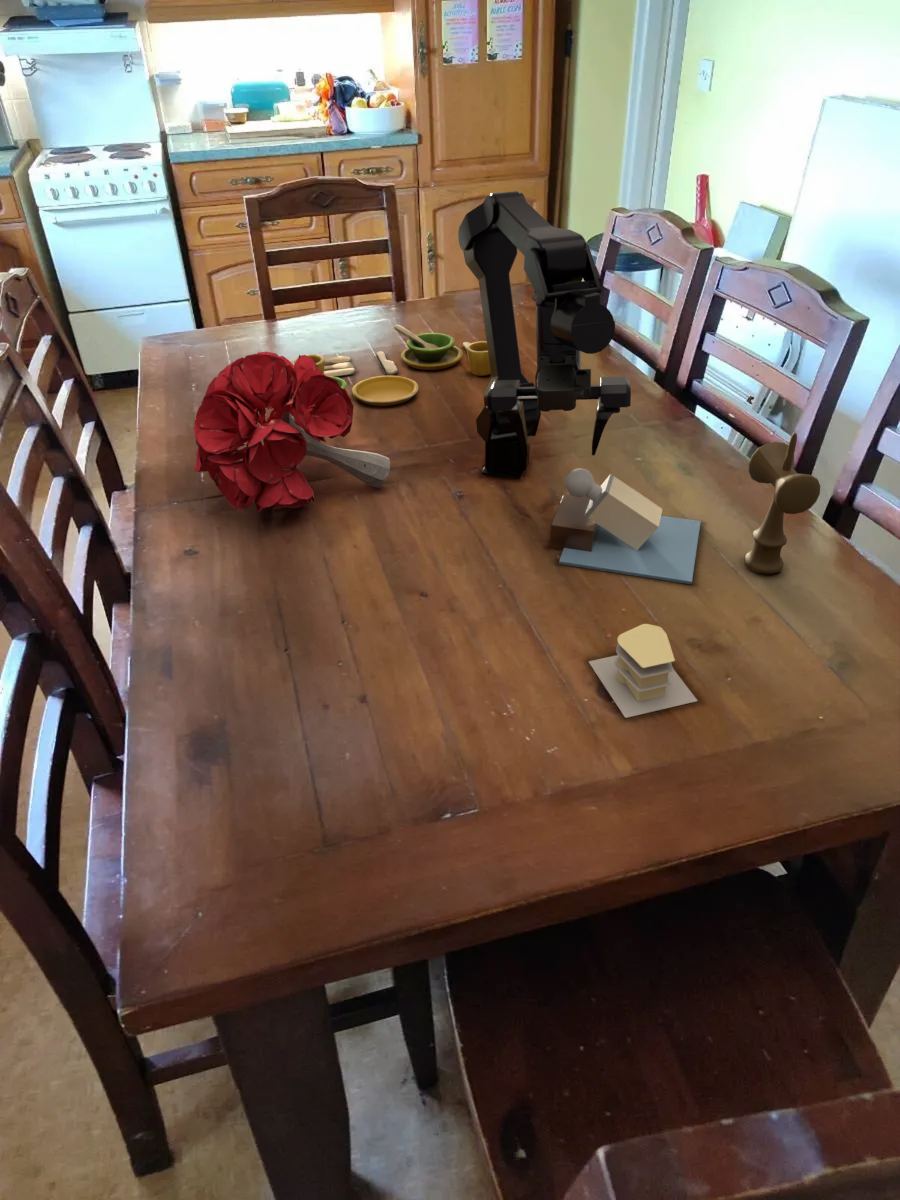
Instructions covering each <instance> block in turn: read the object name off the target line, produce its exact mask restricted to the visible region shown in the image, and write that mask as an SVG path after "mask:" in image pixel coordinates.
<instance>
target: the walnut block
mask: <svg viewBox="0 0 900 1200" xmlns="http://www.w3.org/2000/svg"><path fill="white" fill-rule="evenodd" d="M589 501H590V499H589V498H588V497H586V496H584V497H575V496H573V495H571V494H567V493H563V495H562V496H561V499H560V501H559V504H558V507H557V509H556V511H555V514H554V517H553V519H552V521H551V524H550V533H549V534H550V535H549V549H550V550H551V549H552V550H557V551H563V549H564V548H569V549H576V550H582V551H589V552H592V549H593V546H594V543H595V540H596V537H597V534H598V530H599V527H600V525H598V524H597V523H595V522H594V521H592V520H591V519H589V518H588V517H586V516H585V513H586V510H587V507H588V504H589Z"/></svg>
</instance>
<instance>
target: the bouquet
mask: <svg viewBox="0 0 900 1200" xmlns="http://www.w3.org/2000/svg"><path fill="white" fill-rule="evenodd" d="M306 355H307V354H302V355H301V354H299V355H298V356H297V357H296V358H297V360H296V362H295V363H294V362H293V363H292V362H291V361H290V360H289V358H286V357H285V356H284V355H279V354H278V353H276V352H271V351H260V352H257V353H252V354H248V355H245V357H239V358H236V360H234V361H232V362H230V363H229V364H228V365H226V366H225V367H224V368H223V369H222V370H220V371H219V373H218V374H217V376H215V377H214V378H213V379H212V380H211V382H210V383H209V384H208V386H207V389H206V391H205V395H204V396H203V399H202V400H201V402H200V403H201V404H200V405H199V406H198V409H197V411H196V414H195V420H194V425H193V433H194V437H195V444H196V446H197V450H196V453H195V459H196V460H195V464H194V469H195V470H194V473H206V472H208V476H209V478H210V479H211V480H212V481H213V482H214V483H215V486H216V487H217V489H218V491H219V492H220V493H221V494H222V496H223V497H224V498H225V500H226V501H227V503H228V505H229V506H231V507H232V508H234V509H235V510H239V511H241V510H242V509H244V511H246V510H247V509H248V508H249V507H250V506H252V504H254V506H255V511H256V513H258V512H261V511H262V510H264V509H265V510H266V509H267V508H269V509H283V508H290V509H299V508H302V507H304V506H309V505H310V504H311V502H313V503H315V496H314V490H313V489H312V487H311V486H310V483H309V481H308V479H307V477H306V476H305V474H303V473H302V472H301V471H300V470H299V469H298V468H297V467H299V466H300V464H301V463H302V461H303V460H304V458H305V457H313V458H318V459H321V460H323V461H324V460H325V461H326V462H329V463H331V464H333V465H335V466H337V467H338V468H340V469H342V470H343V471H345V472H346V473H348V474H350V475H352V476H353V477H354V478H356V479H357V480H359V481H361V482H362V483H364V484H365V485H368V486H371V487H374V488H378V489H379V488H382V487H383V485H384V484H385V482H386V481H387V478H388V476H389V473H390V469H391V460H390V458H389V457H387V456H385V455H383V454H380V453H377V452H371V451H365V450H358V449H348V448H339V447H335V446H332V445H328V444H325V443H327V441H326V439H325V437H326V438H329V439H334V438H336V437H338V436H340V437H342V438H345V437H346V436H347V435H348V434H350V433H351V429H352V426H353V418H354V408H355V406H354V403H353V400H352V399H351V397H350V395H349V394H348V391H347V390H346V389H343V388H341V387H340V386H339V384H338V381H337V380H335V379H333V378H331V377H328V376H326V375H325V374H324V373H323V372H322V371H320V370H319V369H317V368H316V367H317V365H316V362H315V360H314V358H312V357H309V356H306ZM293 364H294V366H293ZM266 409H267V410H271V411H270V412H269V415H268V416H267V413H268V412H267V410H266ZM266 416H267V418H266ZM262 441H263V443H262ZM323 442H324V443H323Z"/></svg>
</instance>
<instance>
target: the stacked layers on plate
mask: <svg viewBox="0 0 900 1200" xmlns="http://www.w3.org/2000/svg"><path fill="white" fill-rule="evenodd" d="M615 652H616V655H611V656H607V657H603V658H598V659H594V660H593V659H592V660H588V663H589V665H590V666H591V668H592V669H593V671H594V672H595V674H596V675H597V677H598V679H599V680H600V682H601V684H602V685H603V687H604V688H605V690H606V691H607V693H608V694H609V696H610V697H611V698H612V700H613V701H614V703H615V704H616V706H617V707H618V709H619V711H620V712H621V714H622V715H623V717H624V718H625V719H627V718H631V717H636V716H640V715H644V714H649V713H653V712H657V711H662V710H665V709H670V708H674V707H679V706H682V705H686V704H690V703H691V704H692V703H696V702H699V701H698V699H697V698H696V696H695V695H694V694H693V693H692V691H691V690H690V689H689V687H688V686H687V685H686V683H685V682H684V681H683V680H682V678H681V677H680V676H679V675H678V672H677V671H676V670H675V669H674V667H673V663H672V662H675V661H676V659H675V656H674V653H673V650H672V647H671V643H670V640H669V636H668V634H667V632H666V631H665V630H664V629H663V628H662V626H659V625H654V624H650V623H642V624H640V625H638V626H635V627H633V628H631V629H628V630H626V631H624V632H622V633H621V634H619V635H618V636H617V645H616V648H615Z"/></svg>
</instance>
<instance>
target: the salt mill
mask: <svg viewBox="0 0 900 1200" xmlns="http://www.w3.org/2000/svg"><path fill="white" fill-rule="evenodd" d="M565 477H566V478H565V488H566V490H567V492H568V493H569V495H573V496H575V497H588V498H589V499H590V501H589V504H588V507H587V510H586V513H585V516H586V517H588V518H589V519H591V520H592V521H594V522H595V523H597V524H598V525H600V526H601V527H603V528H604V529H606V530H607V531H609V532H610V533H612V534H613V535H615V536H616V537H618V538H619V539H621V540H622V541H624V542H625V543H627V544H628V545H630V546H631V547H633V548H634V549H636V550H638V549H639V548H640V547H641V546H642V545H643V544H644V542H645V541H646V540H647V539H648V538H649V537H650V536H651V535H652V534H653V533H654V532H655V531H656V529H657V528H658V527H659V524H660V519H661V516H662V514H663V508H662V507H660V506H659V505H657V504H656V503H655V502H653V501H652V500H650V499H648V497H646V496H644V495H642V494H641V493H640V492H638V491H637V490H635V489H634V488H633V487H631V486H630V485H628V484H627V483H625V482H623V481H622V480H620V479H619V478H618V477H616V476H614V475H613V474H612V473H610V474H609V475H608V476H607V477H606V478H605V480H604V481H603V483H602V484H601V485H598V484H597V483H596V482H595V477H594V475H593V474H592V472H591V471H589V470H588V469H586V468H583V467H581V468H580V467H578V468H574V469H573V470H571V471H570V472H569V473H568V474H567V475H566V476H565Z"/></svg>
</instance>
